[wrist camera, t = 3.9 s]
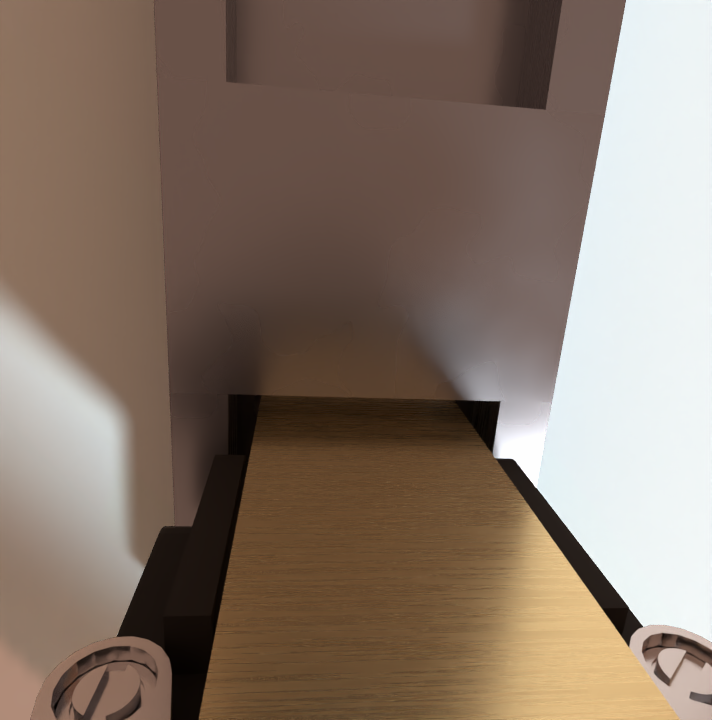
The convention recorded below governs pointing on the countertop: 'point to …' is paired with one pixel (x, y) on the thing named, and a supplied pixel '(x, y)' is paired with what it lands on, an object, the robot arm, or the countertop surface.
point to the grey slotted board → (373, 207)
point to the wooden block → (403, 581)
